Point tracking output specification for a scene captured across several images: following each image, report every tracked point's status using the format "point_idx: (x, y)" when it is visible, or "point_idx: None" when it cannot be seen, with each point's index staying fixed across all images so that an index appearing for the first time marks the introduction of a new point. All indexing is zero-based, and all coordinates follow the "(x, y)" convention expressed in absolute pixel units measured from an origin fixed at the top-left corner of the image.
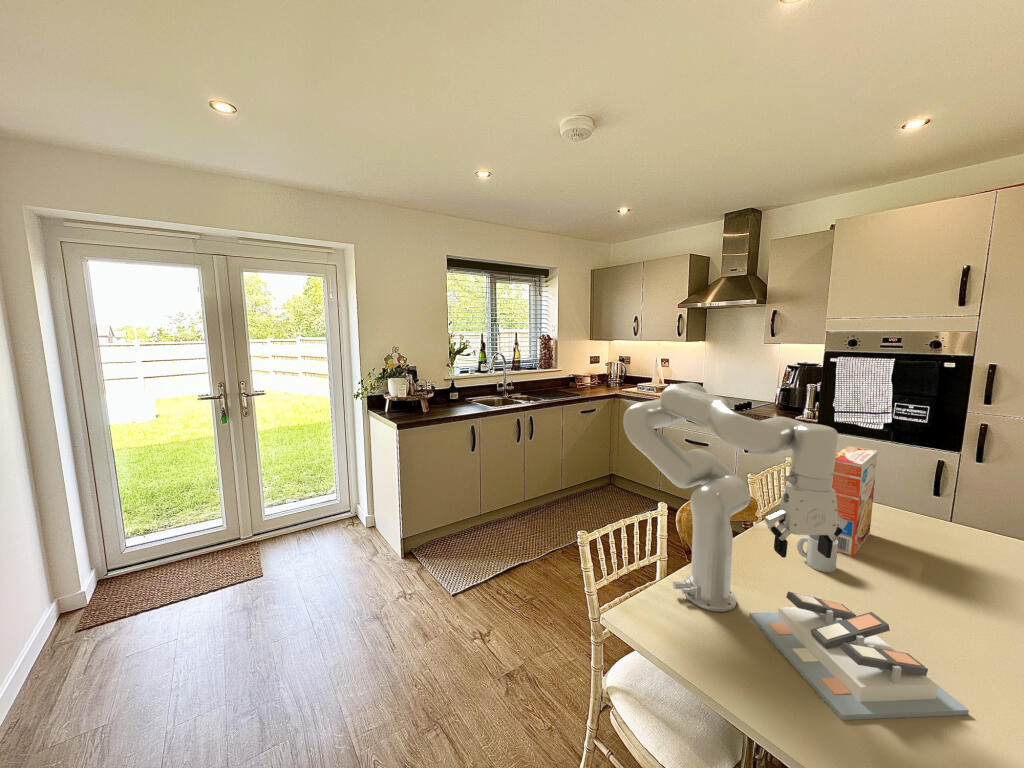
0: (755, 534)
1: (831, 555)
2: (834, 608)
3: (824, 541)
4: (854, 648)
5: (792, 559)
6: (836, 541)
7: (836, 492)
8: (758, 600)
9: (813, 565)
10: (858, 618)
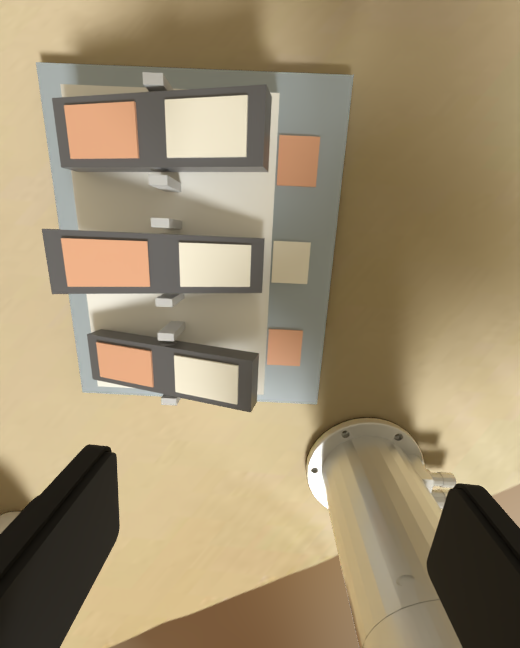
0: (97, 641)
1: None
2: (140, 349)
3: (25, 628)
4: (246, 136)
5: None
6: None
7: None
8: (253, 444)
9: None
10: (113, 281)
